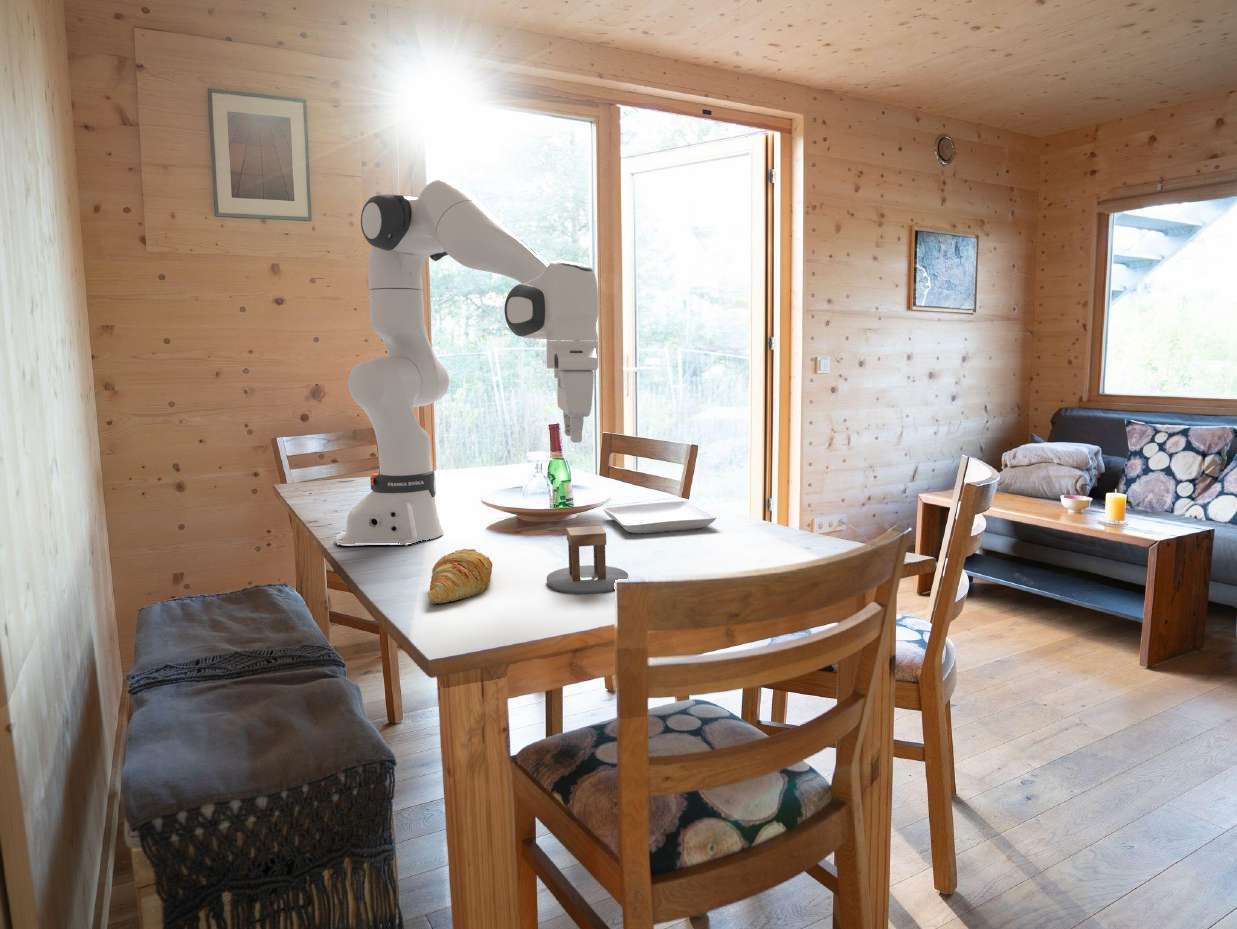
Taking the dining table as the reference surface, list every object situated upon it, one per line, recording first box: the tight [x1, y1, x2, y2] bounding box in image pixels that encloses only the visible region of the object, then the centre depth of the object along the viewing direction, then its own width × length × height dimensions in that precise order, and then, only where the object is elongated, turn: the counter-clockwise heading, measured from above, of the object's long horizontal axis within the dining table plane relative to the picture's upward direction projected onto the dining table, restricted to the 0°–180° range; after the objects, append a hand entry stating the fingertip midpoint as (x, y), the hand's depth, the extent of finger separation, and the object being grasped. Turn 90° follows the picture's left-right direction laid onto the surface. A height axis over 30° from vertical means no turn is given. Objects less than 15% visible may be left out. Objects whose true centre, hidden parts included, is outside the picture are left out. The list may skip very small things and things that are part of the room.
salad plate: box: [602, 500, 717, 535], centre depth 183 cm, size 21×21×3 cm
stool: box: [565, 525, 607, 582], centre depth 138 cm, size 6×6×8 cm
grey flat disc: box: [546, 564, 629, 595], centre depth 139 cm, size 14×14×1 cm
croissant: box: [428, 548, 493, 604], centre depth 136 cm, size 21×10×8 cm, turn 167°
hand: (573, 438), depth 140 cm, fingers open, 8 cm apart
